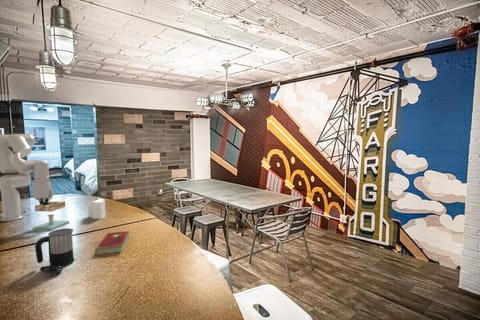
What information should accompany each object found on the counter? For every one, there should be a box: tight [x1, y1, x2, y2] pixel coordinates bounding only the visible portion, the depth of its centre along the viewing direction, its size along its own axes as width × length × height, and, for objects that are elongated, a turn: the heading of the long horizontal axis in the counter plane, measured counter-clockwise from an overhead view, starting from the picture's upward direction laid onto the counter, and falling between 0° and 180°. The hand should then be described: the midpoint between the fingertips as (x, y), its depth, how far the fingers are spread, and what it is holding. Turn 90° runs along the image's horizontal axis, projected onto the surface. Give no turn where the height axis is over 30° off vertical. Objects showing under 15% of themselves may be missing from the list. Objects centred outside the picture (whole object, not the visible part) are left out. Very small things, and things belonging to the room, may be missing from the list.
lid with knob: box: [32, 213, 70, 232], centre depth 163 cm, size 13×14×8 cm
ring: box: [34, 200, 66, 213], centre depth 162 cm, size 11×11×4 cm
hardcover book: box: [94, 230, 130, 255], centre depth 134 cm, size 12×21×4 cm, turn 14°
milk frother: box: [34, 228, 75, 275], centre depth 110 cm, size 14×16×15 cm
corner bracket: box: [88, 198, 107, 220], centre depth 184 cm, size 11×11×12 cm
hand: (44, 208), depth 163 cm, fingers closed on ring, 1 cm apart
